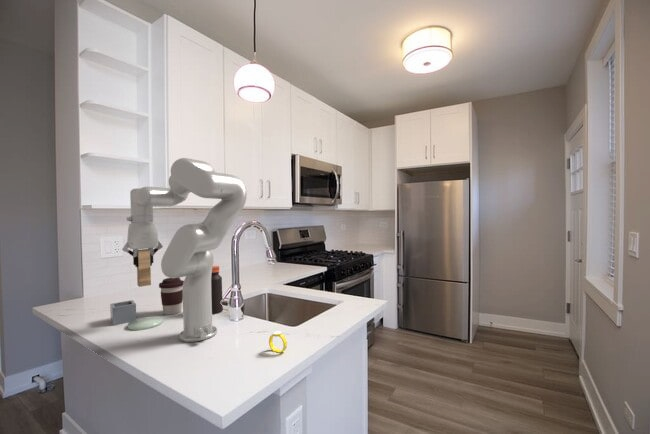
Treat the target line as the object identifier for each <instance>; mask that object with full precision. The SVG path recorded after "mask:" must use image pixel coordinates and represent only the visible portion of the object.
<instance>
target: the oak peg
mask: <svg viewBox="0 0 650 434" xmlns="http://www.w3.org/2000/svg"><path fill="white" fill-rule="evenodd" d="M137 256H138V267H136V274H137V275H136V277H137V278H136V279H137V280H136V281H137V282H136V283H137V286H138V287H139V288H140V287H147V286H152V279H151V278H152V276H151V274H152V273H151V271H152V270H151V268H152V267H151V266H150V250H149V249H148V248H146V249H138V252H137Z"/></svg>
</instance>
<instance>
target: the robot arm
mask: <svg viewBox="0 0 650 434" xmlns="http://www.w3.org/2000/svg"><path fill="white" fill-rule="evenodd" d="M215 171H216V170H215V168H214V167H213V166H212V165H211V164H210V163H208V162H207V161H204V160H198V159H194V158H193V159H192V158H188V157H181V158H179V159H178V158H177V159H176V160H175V161H174V162H173V163H172V165H171V167H170V176H169V178H168V185H169V187H163V186H162V187H161V186H160V187H159V186H143V187H139V188H137V187H136V188H132V189H131V190H130V191H129V194H130V198H129V199H130V216H129V217H128V216H127V217H126V222H128V221H129V222H130V223H129V224H128V229H127V240H126V243H125V244H124V246H123V247H122V248H121V249H122V251H123V252H125V253H128V255H130V256H132V257H133V259H132V260H133V261H132V262H133V266H135V267H136V268H137V267H138V256H137V252H138V250H142V249H149V250H150V267H151V266H153V264H154V255H155V254H156V253H157V252H158V251H159V250H160V249H162V248H163V247H164V246H163V244H162V243H161V242H160V241H159V235H158V229H157V224H156V222H154V207H159V208H160V207H162V208H164V207H166V208H169V207H175V206H176V205H179V204H181V203H183V202H185V201H186V199H188V196H189V194H190V193H192V194H194V195H196V196H197V197H200V198H204V199H213V200H214V199H215V200H217V199H218V200H220V201H218V202H217V203H216V204H215V205H214V206H213V207H211V208H210V209H209V211H208V213H207V215H206V216H205V219H204V220H203V221H202V222H199V223H188V224H185V225H182V226H181V227H179V228H178V229H177V231H175V233H174V235H173V236H172V239H171V240H170V242H169V244H168V246H167V248H166V249H165V251H164V253H163V255H162V258H161V262H160V268H161V271H162V274H163V275H164V276H165V277H167V278H180V279H181V278H184V277H185V278H184V280H183V281H184V283H183V288H182V291H183V293H182V294H183V300H182V316H183V317H182V319H183V330H182V331H181V332H179V334H178V339H179V340H180V341H183V342H187V343H188V342H189V343H191V342H192V343H193V342H200V341H204V340H207V339H211V338H212V337H214V336H215V335H217V333H218V328H217V327H216V326H215V325H213V314H212V298H211V275H212V268H213V266H214V254H213V252H212V251H213V250H215V249H217V248H219V246H221V243H222V242H223V241H224V239H225V237H226V235H227V234H228V232H229V230H230V229H231V227H232V225H233V223H234V222H235V220H236V219H237V218H238V216H239V215H240V214H241V212H242V210H243V209H244V207H245V204H246V202H247V194H248V193H247V189H246V188H247V187H246V185H245V183H244V182H243V180H242V179H240V177H238V176H235V175H233V174H229V173H221V172H215Z"/></svg>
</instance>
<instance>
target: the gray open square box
mask: <svg viewBox="0 0 650 434" xmlns="http://www.w3.org/2000/svg"><path fill="white" fill-rule="evenodd" d="M109 307H110V309H109V311H110V323H111V324H112V326H118V325H122V324H129V323H130V322H132V321H134V320H137V303H136V302H135V301H134V300H133V299H131V300H125V301H119V302H114V303H110V304H109Z"/></svg>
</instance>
